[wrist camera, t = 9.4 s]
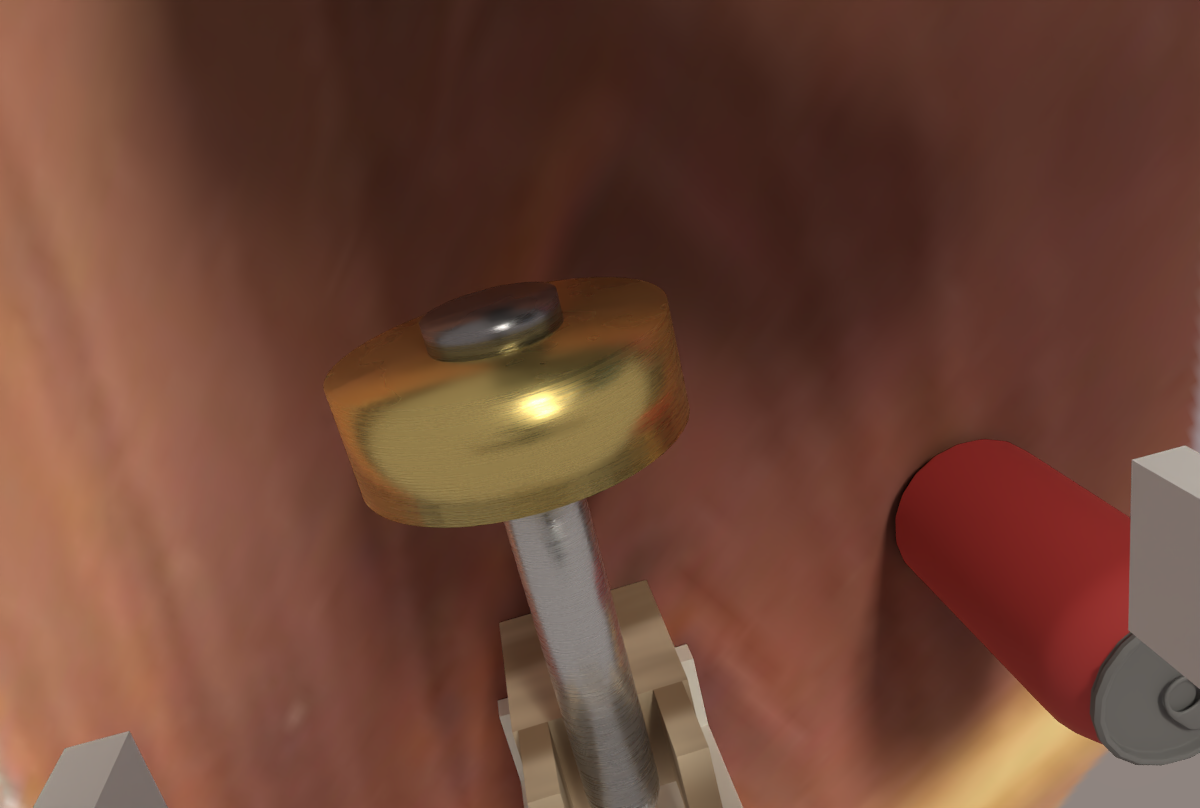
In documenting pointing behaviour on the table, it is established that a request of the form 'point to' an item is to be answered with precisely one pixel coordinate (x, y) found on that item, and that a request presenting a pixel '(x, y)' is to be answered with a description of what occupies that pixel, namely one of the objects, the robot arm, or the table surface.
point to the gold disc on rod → (530, 467)
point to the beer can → (1047, 594)
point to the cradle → (661, 697)
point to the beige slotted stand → (669, 795)
